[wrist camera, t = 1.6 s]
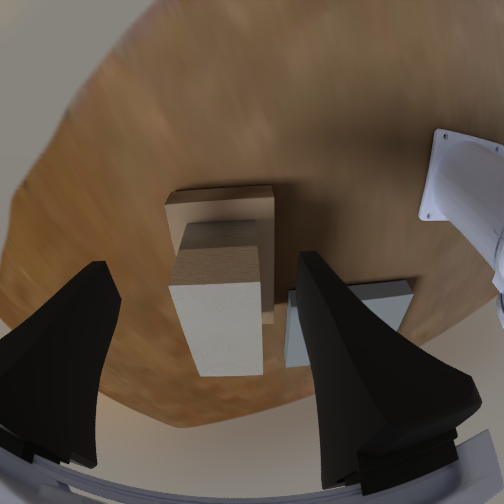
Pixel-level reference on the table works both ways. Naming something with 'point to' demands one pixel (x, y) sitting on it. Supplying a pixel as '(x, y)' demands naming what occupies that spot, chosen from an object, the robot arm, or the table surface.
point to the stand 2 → (372, 295)
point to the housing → (220, 297)
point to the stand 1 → (227, 209)
